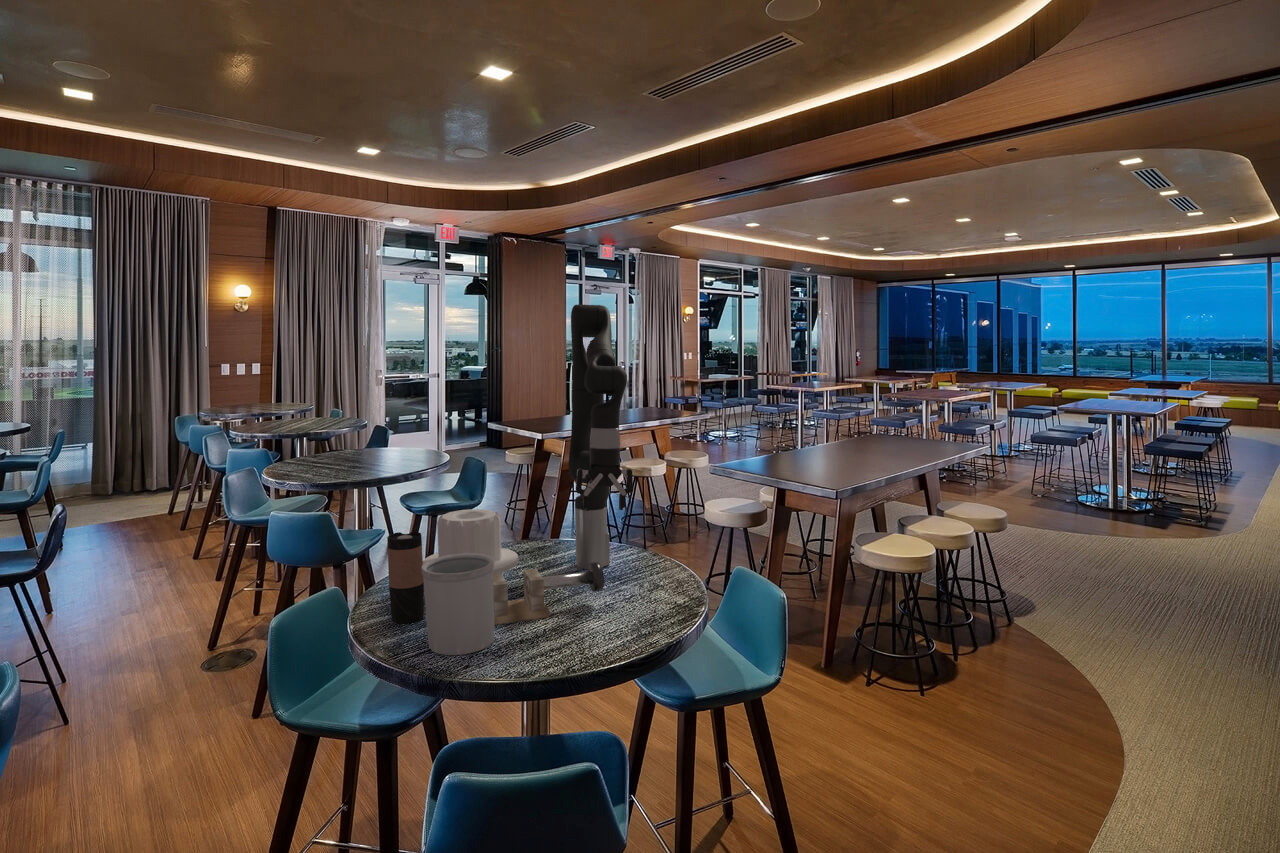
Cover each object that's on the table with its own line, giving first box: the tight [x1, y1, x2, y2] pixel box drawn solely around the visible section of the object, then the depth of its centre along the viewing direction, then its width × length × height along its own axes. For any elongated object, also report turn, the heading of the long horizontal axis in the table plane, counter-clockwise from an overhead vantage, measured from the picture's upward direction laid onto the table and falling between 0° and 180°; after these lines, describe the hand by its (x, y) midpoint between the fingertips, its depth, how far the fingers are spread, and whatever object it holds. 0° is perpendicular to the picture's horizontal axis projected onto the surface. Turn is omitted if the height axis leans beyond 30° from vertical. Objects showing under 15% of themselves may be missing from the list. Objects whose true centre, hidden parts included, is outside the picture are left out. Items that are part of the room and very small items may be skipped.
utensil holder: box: [421, 553, 495, 656], centre depth 146 cm, size 15×15×18 cm
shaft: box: [526, 562, 605, 593], centre depth 166 cm, size 18×7×7 cm, turn 111°
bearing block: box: [493, 568, 550, 626], centre depth 162 cm, size 13×10×9 cm
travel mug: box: [387, 530, 425, 625], centre depth 159 cm, size 8×8×20 cm
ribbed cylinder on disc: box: [423, 508, 519, 574], centre depth 183 cm, size 25×25×19 cm
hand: (604, 510), depth 172 cm, fingers open, 8 cm apart
